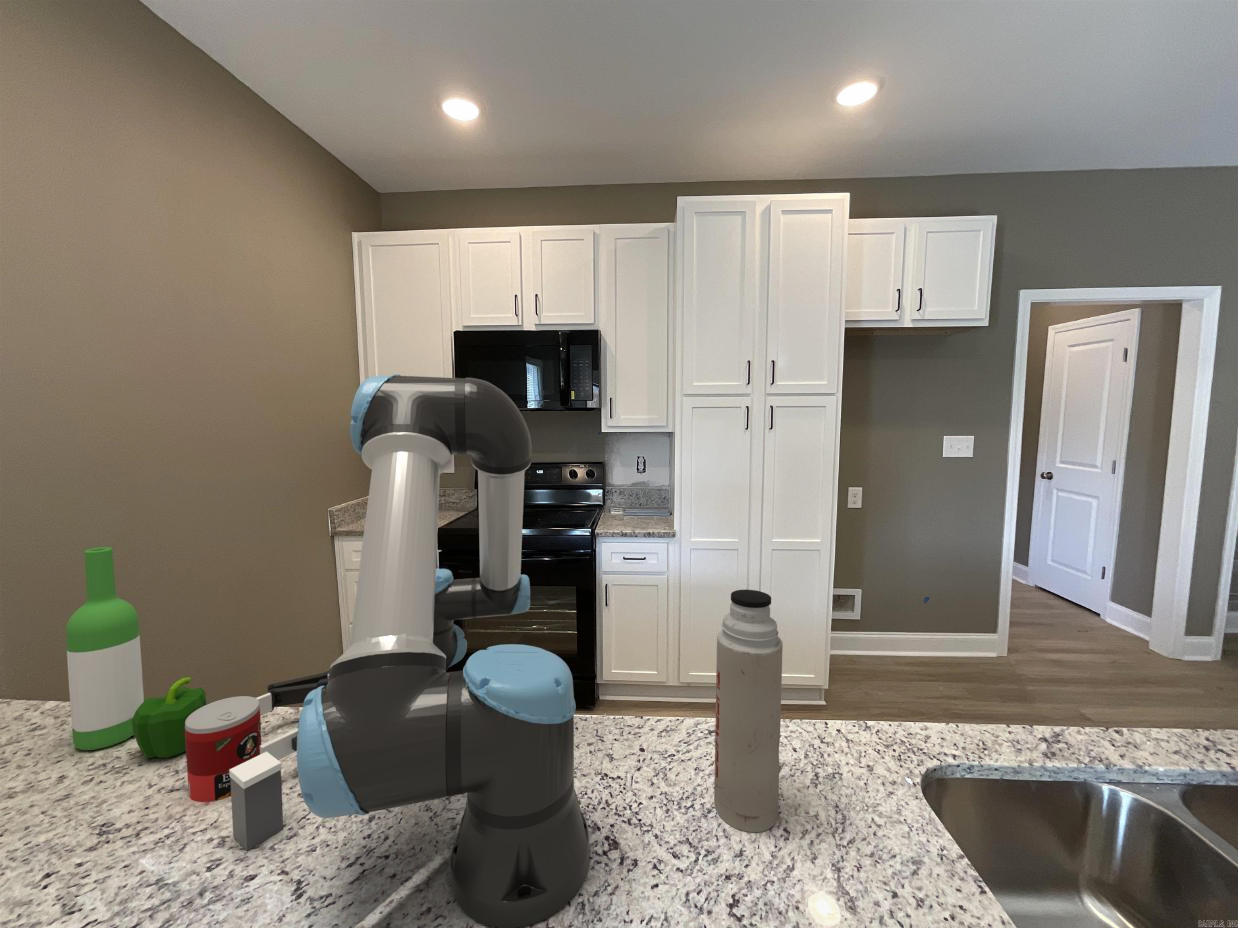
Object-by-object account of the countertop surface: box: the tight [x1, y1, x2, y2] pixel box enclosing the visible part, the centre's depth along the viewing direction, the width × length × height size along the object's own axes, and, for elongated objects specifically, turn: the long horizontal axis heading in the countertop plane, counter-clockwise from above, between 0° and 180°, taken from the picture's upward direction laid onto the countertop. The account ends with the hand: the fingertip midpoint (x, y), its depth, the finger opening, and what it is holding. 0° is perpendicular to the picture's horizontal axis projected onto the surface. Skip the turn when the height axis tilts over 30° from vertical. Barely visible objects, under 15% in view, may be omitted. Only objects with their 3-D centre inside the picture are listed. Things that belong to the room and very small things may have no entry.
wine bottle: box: [65, 546, 145, 751], centre depth 74 cm, size 8×8×30 cm
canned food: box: [185, 695, 262, 803], centre depth 64 cm, size 8×8×11 cm
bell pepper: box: [132, 676, 207, 759], centre depth 72 cm, size 8×8×10 cm
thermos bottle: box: [713, 589, 784, 833], centre depth 61 cm, size 8×8×28 cm
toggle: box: [229, 752, 284, 852], centre depth 56 cm, size 4×4×8 cm
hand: (238, 738), depth 66 cm, fingers open, 13 cm apart
